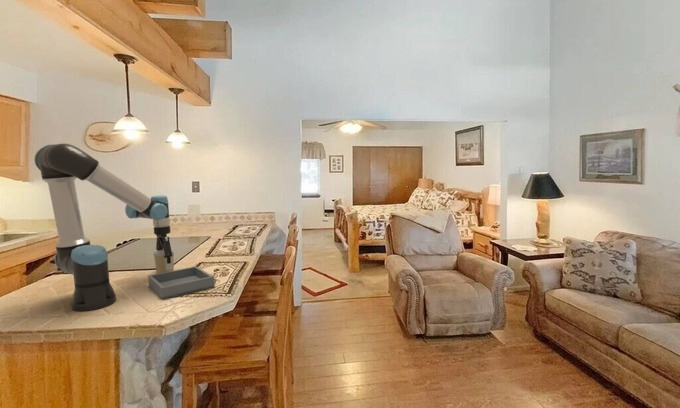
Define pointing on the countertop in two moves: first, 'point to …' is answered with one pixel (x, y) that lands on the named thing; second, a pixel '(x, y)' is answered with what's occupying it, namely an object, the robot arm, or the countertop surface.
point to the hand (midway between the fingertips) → (165, 266)
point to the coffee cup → (162, 261)
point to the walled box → (180, 282)
